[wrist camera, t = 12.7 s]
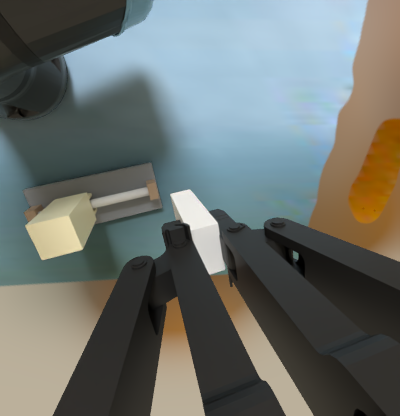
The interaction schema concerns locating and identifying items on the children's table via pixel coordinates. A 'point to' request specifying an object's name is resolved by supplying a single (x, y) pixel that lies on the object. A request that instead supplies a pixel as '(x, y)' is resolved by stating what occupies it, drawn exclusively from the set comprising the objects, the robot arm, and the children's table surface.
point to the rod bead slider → (103, 192)
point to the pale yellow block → (62, 226)
